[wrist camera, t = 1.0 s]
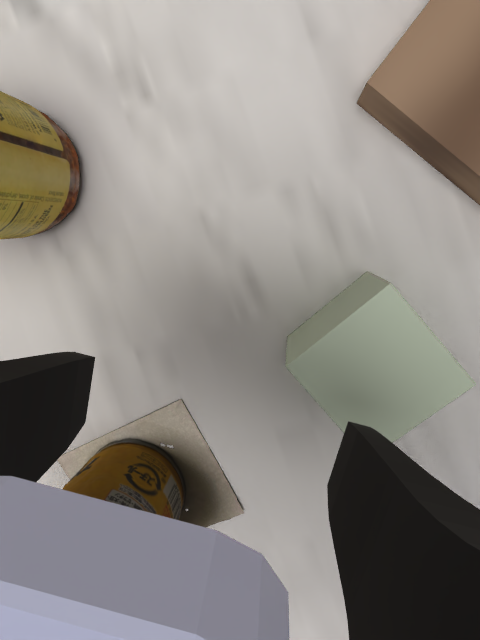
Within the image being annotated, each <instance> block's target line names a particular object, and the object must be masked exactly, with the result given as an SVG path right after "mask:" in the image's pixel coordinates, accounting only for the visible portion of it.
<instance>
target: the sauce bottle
mask: <svg viewBox="0 0 480 640" xmlns="http://www.w3.org/2000/svg"><path fill="white" fill-rule="evenodd" d="M79 180H80V172H79V161H78V155H77V153H76V151H75V148H74V146H73V144H72V142H71V140H70V139H69V138H68V137H67V135H66V133H65V132H64V131H62V130H61V129H60V127H58V126H57V125H56V124H55V122H54V121H52V120H51V119H50V118H49V117H48V116H47V115H46V114H44V113H42V112H40V111H38V110H37V109H35V108H34V107H32V106H30V105H29V104H27V103H25V102H23V101H21V100H18V99H16V98H14V97H12V96H10V95H7V94H5V93H3V92H1V91H0V239H10V238H23V237H28V236H31V235H35V234H38V233H41V232H44V231H46V230H48V229H50V228H52V227H53V226H54V225H56V224H58V223H59V222H60V221H61V220H63V218H65V217H66V216H67V214H68V213H70V212H71V211H72V209H73V208H74V206H75V204H76V201H77V196H78V192H79Z"/></svg>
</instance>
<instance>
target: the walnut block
mask: <svg viewBox="0 0 480 640" xmlns="http://www.w3.org/2000/svg"><path fill="white" fill-rule="evenodd" d="M357 104H358V105H359V106H360V107H362V108H363V109H364V110H365V111H366V112H368V113H369V114H370V115H371V116H372V117H374V118H375V119H376V120H377V121H379V122H380V123H381V124H382V125H383V126H385V127H386V128H387V129H388V130H389V131H391V132H392V133H393V134H394V135H395V136H397V137H398V138H399V139H400V140H401V141H403V142H404V143H405V144H406V145H408V146H409V147H410V148H411V149H412V150H414V151H415V152H416V153H417V154H418V155H420V156H421V157H422V158H423V159H424V160H426V161H427V162H428V163H429V164H430V165H432V166H433V167H434V168H435V169H437V170H438V171H439V172H440V173H441V174H443V175H444V176H445V177H446V178H447V179H449V180H450V181H451V182H452V183H453V184H455V185H456V186H457V187H458V188H459V189H461V190H462V191H463V192H464V193H466V194H467V195H468V196H469V197H470V198H472V199H473V200H474V201H475V202H476V203H478V204H479V205H480V0H430V1H429V3H428V4H427V5H426V6H425V8H424V9H423V10H422V12H421V13H420V14H419V16H418V17H417V18H416V19H415V21H414V22H413V23H412V25H411V26H410V27H409V29H408V30H407V31H406V32H405V34H404V35H403V36H402V38H401V39H400V40H399V42H398V43H397V44H396V45H395V47H394V48H393V49H392V51H391V52H390V53H389V54H388V56H387V57H386V58H385V60H384V61H383V62H382V64H381V65H380V66H379V67H378V69H377V70H376V71H375V73H374V74H373V75H372V77H371V78H370V79H369V80H368V82H367V83H366V85H365V87H364V89H363V91H362V94H361V96H360V98H359V100H358V102H357Z"/></svg>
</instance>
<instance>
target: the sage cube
mask: <svg viewBox="0 0 480 640" xmlns="http://www.w3.org/2000/svg"><path fill="white" fill-rule="evenodd" d="M286 368H287V369H288V370H289V371H290V373H291V374H292V375H293V376H294V377H295V378H296V379H297V380H298V382H299V383H300V384H301V385H302V386H303V387H304V388H305V390H306V391H307V392H308V393H309V394H310V395H311V396H312V397H313V399H314V400H315V401H316V402H317V403H318V404H319V405H320V406H321V408H322V409H323V410H324V411H325V412H326V413H327V414H328V416H329V417H330V418H331V419H332V420H333V421H334V422H335V423H336V425H337V426H338V427H339V428H340V429H341V430H342V431H343V432H344V433H345V429H346V426H347V423H348V421H349V422H353V423H357V424H361V425H365V426H369V427H371V428H373V429H375V430H376V431H378V432H379V433H380V434H382V435H383V436H384V437H386V438H387V439H388V440H389V441H390V442H392V443H393V442H394V441H395V440H397V439H398V438H400V437H401V436H403V435H404V434H406V433H407V432H408V431H410V430H411V429H413V428H414V427H416V426H417V425H419V424H420V423H421V422H423V421H424V420H426V419H427V418H429V417H430V416H432V415H433V414H434V413H436V412H437V411H439V410H440V409H442V408H443V407H445V406H446V405H447V404H449V403H450V402H452V401H453V400H455V399H456V398H458V397H459V396H460V395H462V394H463V393H465V392H466V391H468V390H469V389H471V388H472V387H473V386H475V385H476V383H475V382H474V381H473V380H472V379H471V377H470V376H469V375H468V374H467V373H466V371H465V370H464V369H463V368H462V367H461V366H460V364H459V363H458V362H457V361H456V360H455V358H454V357H453V356H452V355H451V354H450V352H449V351H448V350H447V349H446V348H445V347H444V345H443V344H442V343H441V342H440V341H439V339H438V338H437V337H436V336H435V335H434V334H433V332H432V331H431V330H430V329H429V328H428V326H427V325H426V324H425V323H424V322H423V321H422V319H421V318H420V317H419V316H418V315H417V313H416V312H415V311H414V310H413V309H412V308H411V306H410V305H409V304H408V303H407V302H406V300H405V299H404V298H403V297H402V296H401V294H400V293H399V292H398V291H397V290H396V289H395V287H394V286H393V285H392V284H391V283H390V282H388V281H386V280H384V279H382V278H380V277H378V276H376V275H374V274H372V273H370V272H366V273H365V274H363V275H362V276H361V277H360V278H358V279H357V280H356V281H355V282H354V283H352V284H351V285H350V286H349V287H347V288H346V289H345V290H344V291H343V292H341V293H340V294H339V295H338V296H336V297H335V298H334V299H333V300H332V301H330V302H329V303H328V304H327V305H325V306H324V307H323V308H322V309H321V310H319V311H318V312H317V313H316V314H314V315H313V316H312V317H311V318H310V319H308V320H307V321H306V322H305V323H303V324H302V325H301V326H300V327H299V328H297V329H296V330H295V331H294V332H292V333H291V334H290V335H289V336H288V337H287V349H286Z"/></svg>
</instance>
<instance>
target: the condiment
mask: <svg viewBox="0 0 480 640" xmlns="http://www.w3.org/2000/svg"><path fill="white" fill-rule="evenodd" d="M160 443H163V444H165V445H166V446H165V447H163V446H161V445H160ZM167 445H173V447H174V448H169V447H167ZM57 460H58V462H59V463H60V464H61V467H62V468H63V470H64V471H65V473H66V475H67V476H68V477H69V478H70V481H69V482H68V484H66V485H65V486H64V488H63V489H62V490H66V491H70V492H74V493H77V494H81V495H85V496H89V497H93V498H96V499H100V500H104V501H108V502H111V503H115V504H119V505H123V506H126V507H130V508H134V509H138V510H141V511H145V512H149V513H153V514H157V515H160V516H164V517H168V518H172V519H175V520H179V521H183V522H187V523H190V524H194V525H198V526H202V527H205V528H206V527H208V526H210V525H213V524H215V523H218V522H221V521H225V520H228V519H231V518H233V517H235V516H238V515H240V514H243V513H244V512H243V510H242V508H241V506H240V504H239V502H238V501H237V498H236V495H235V494H234V492H233V490H232V488H231V486H230V485H229V483H228V481H227V479H226V478H225V476H224V474H223V471H222V470H221V468H220V466H219V465H218V463H217V461H216V459H215V458H214V456H213V454H212V452H211V450H210V448H209V446H208V444H207V443H206V441H205V440H204V439H203V437H202V435H201V433H200V432H199V430H198V428H197V426H196V424H195V422H194V420H193V419H192V417H191V416H190V414H189V412H188V411H187V409H186V407H185V405H184V404H183V402H182V400H181V399H180V400H178V401H176V402H174V403H172V404H170V405H168V406H166V407H164V408H162V409H159V410H157V411H155V412H153V413H151V414H149V415H147V416H145V417H143V418H141V419H138V420H136V421H134V422H132V423H130V424H128V425H126V426H123V427H121V428H119V429H117V430H114V431H112V432H110V433H108V434H106V435H104V436H102V437H100V438H98V439H95V440H93V441H91V442H89V443H87V444H85V445H83V446H81V447H79V448H77V449H74V450H72V451H70V452H68V453H66V454H64V455H62V456H60V457H59V458H58V459H57ZM185 509H189V510H188V511H187V512H186V510H185Z"/></svg>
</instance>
